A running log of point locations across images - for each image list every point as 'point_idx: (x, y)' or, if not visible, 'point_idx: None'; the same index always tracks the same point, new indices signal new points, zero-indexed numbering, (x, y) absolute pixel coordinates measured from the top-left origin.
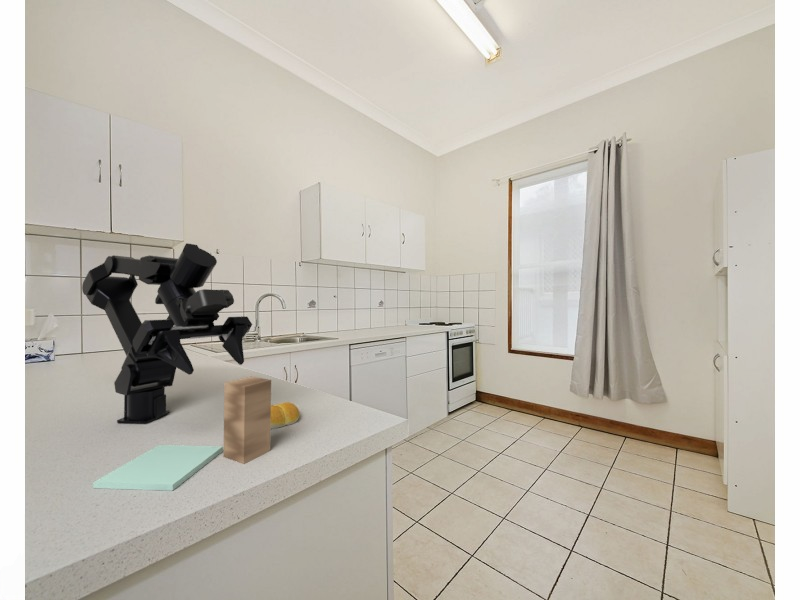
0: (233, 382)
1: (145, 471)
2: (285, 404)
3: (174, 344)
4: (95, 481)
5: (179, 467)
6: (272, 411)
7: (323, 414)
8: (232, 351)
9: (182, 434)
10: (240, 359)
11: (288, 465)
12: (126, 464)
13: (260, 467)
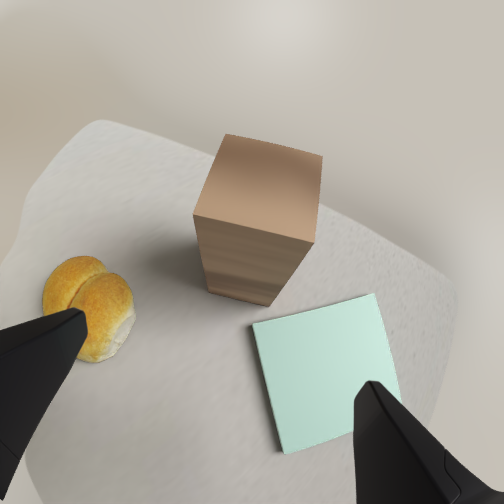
0: (297, 215)
1: (366, 371)
2: (66, 280)
3: (480, 493)
4: None
5: (340, 331)
6: (105, 291)
7: (55, 232)
8: (25, 407)
9: (208, 472)
10: (74, 324)
11: None
12: None
13: None
